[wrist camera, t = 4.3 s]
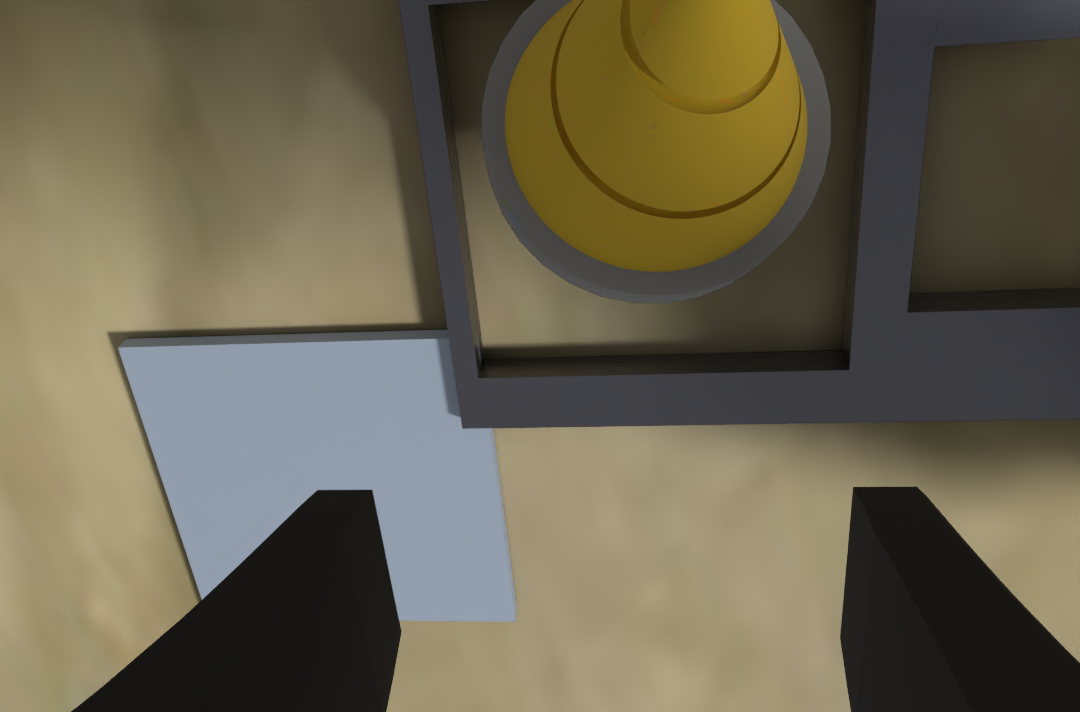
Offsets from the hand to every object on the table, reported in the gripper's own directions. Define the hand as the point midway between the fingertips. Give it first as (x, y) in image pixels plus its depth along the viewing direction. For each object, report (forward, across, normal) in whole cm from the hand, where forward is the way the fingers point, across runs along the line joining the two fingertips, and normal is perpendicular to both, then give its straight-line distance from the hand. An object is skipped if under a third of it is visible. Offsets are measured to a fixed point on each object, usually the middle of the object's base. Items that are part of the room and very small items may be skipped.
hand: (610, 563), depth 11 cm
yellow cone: (+10, 0, 0) cm, 10 cm away
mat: (+10, +7, +7) cm, 14 cm away
